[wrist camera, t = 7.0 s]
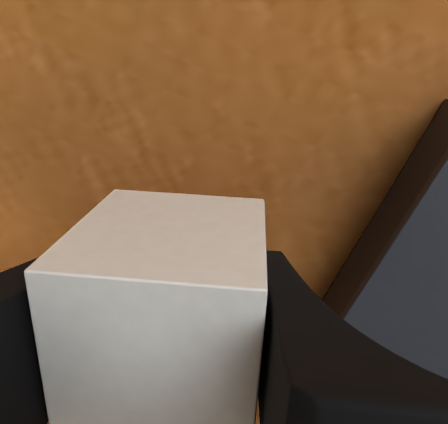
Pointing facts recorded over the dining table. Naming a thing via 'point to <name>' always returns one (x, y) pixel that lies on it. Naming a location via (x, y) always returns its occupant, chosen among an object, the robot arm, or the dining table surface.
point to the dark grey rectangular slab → (405, 261)
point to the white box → (153, 311)
